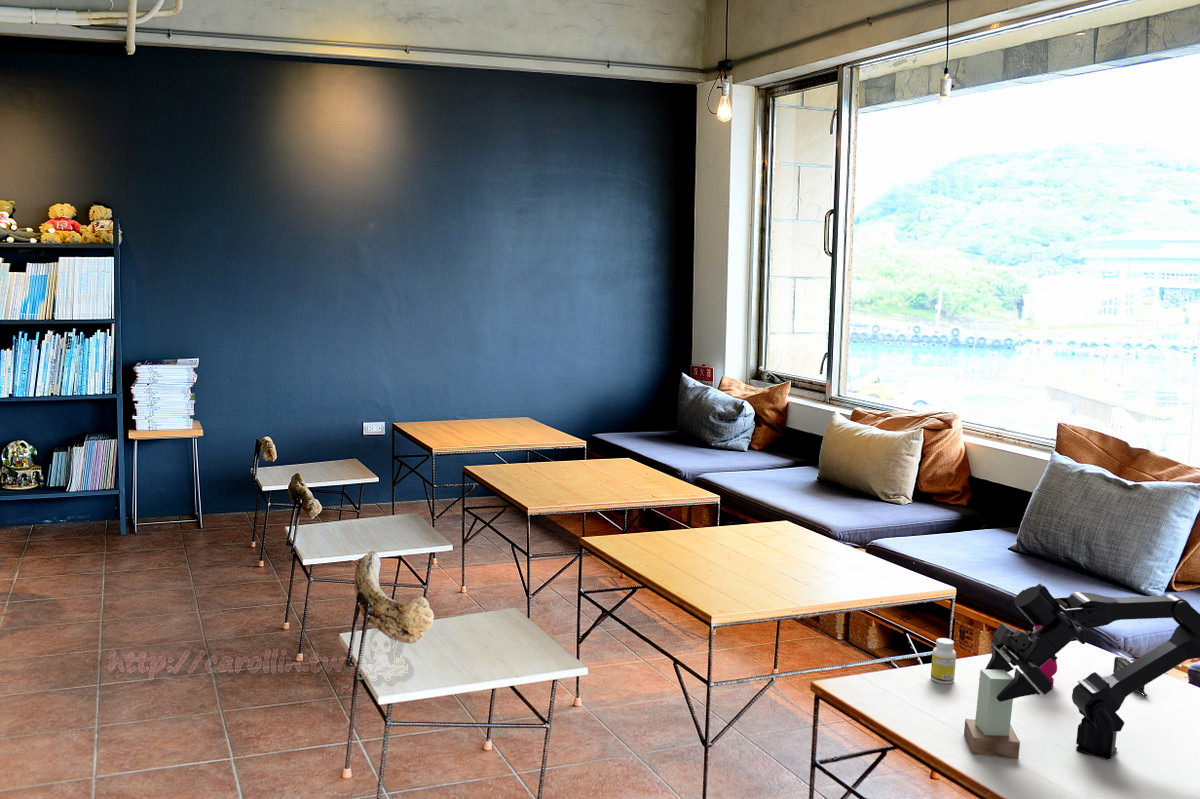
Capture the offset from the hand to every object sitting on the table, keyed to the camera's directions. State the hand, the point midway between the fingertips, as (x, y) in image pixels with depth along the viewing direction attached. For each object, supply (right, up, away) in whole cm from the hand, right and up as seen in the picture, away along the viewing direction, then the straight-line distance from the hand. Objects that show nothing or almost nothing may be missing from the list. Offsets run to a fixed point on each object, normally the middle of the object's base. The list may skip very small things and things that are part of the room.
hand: (989, 690), depth 213 cm
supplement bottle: (+2, -8, +36) cm, 37 cm away
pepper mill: (+26, -9, +37) cm, 46 cm away
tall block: (+1, -8, +1) cm, 9 cm away
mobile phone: (+48, -10, +38) cm, 63 cm away
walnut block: (+1, -12, +2) cm, 13 cm away
